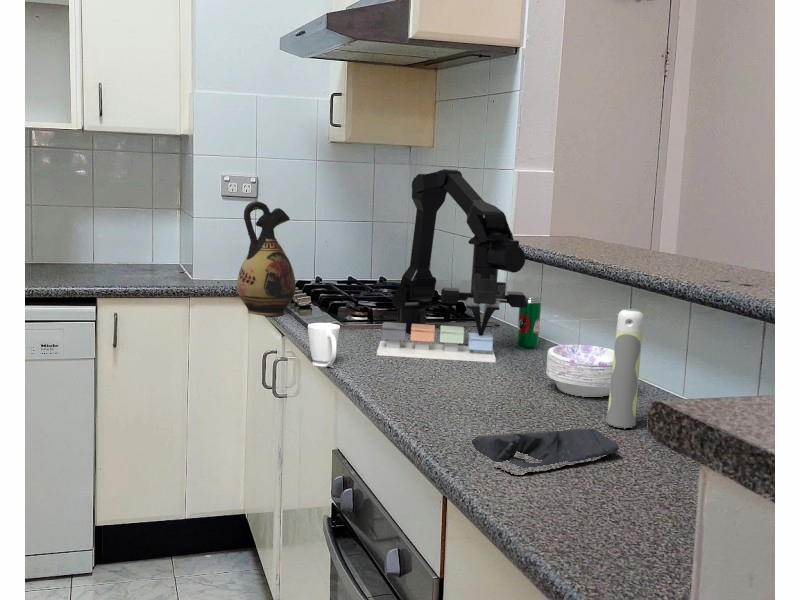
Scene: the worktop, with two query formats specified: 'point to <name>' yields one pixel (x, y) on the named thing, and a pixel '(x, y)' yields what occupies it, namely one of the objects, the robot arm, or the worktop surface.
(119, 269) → the worktop surface
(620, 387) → the spray bottle
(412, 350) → the keypad
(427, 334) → the key terracotta
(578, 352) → the paper bowls
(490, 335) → the key blue
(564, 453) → the crumpled dark cloth
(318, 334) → the cup
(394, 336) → the key charcoal
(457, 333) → the key sage
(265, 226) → the ceramic jug
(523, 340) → the soda can
